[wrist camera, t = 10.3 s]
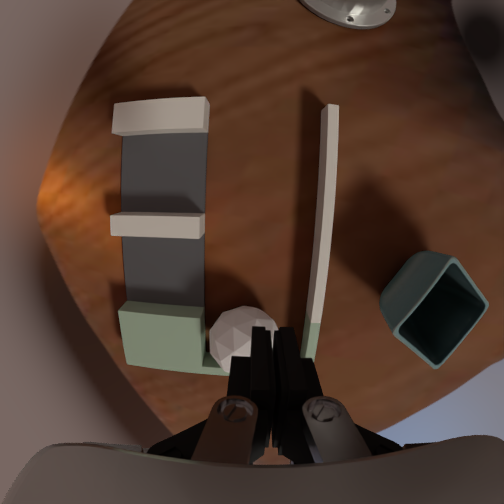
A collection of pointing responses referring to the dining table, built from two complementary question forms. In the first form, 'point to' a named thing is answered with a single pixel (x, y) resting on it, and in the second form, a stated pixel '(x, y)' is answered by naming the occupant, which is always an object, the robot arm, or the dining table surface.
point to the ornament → (236, 333)
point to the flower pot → (432, 305)
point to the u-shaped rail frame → (188, 232)
